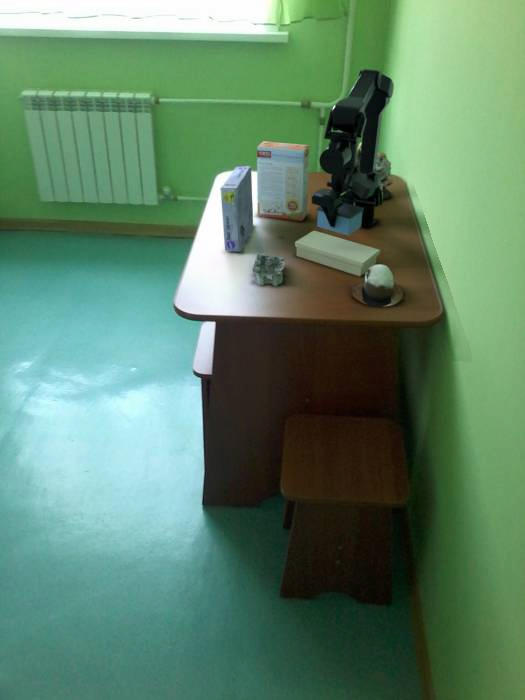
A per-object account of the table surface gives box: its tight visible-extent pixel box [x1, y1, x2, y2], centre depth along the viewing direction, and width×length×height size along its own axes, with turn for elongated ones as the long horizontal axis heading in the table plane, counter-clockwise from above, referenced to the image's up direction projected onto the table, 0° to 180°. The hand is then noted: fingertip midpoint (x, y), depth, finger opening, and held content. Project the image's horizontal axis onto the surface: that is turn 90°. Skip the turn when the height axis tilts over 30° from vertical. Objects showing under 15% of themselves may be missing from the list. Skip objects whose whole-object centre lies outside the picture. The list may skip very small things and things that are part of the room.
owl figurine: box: [356, 141, 393, 201], centre depth 195 cm, size 18×12×17 cm, turn 83°
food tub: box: [316, 202, 364, 236], centre depth 156 cm, size 7×9×5 cm
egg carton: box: [252, 253, 286, 287], centre depth 154 cm, size 11×8×4 cm
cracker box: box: [256, 140, 310, 222], centre depth 180 cm, size 14×6×21 cm, turn 71°
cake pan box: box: [220, 165, 254, 253], centre depth 168 cm, size 19×5×18 cm, turn 169°
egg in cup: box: [351, 263, 404, 308], centre depth 147 cm, size 12×10×10 cm
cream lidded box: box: [294, 230, 381, 277], centre depth 161 cm, size 9×20×4 cm, turn 53°
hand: (339, 222), depth 156 cm, fingers closed on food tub, 6 cm apart
